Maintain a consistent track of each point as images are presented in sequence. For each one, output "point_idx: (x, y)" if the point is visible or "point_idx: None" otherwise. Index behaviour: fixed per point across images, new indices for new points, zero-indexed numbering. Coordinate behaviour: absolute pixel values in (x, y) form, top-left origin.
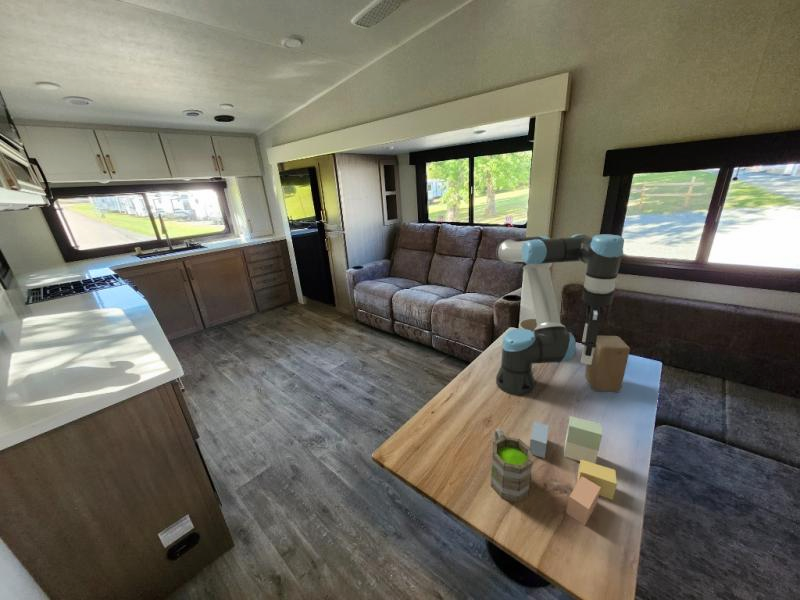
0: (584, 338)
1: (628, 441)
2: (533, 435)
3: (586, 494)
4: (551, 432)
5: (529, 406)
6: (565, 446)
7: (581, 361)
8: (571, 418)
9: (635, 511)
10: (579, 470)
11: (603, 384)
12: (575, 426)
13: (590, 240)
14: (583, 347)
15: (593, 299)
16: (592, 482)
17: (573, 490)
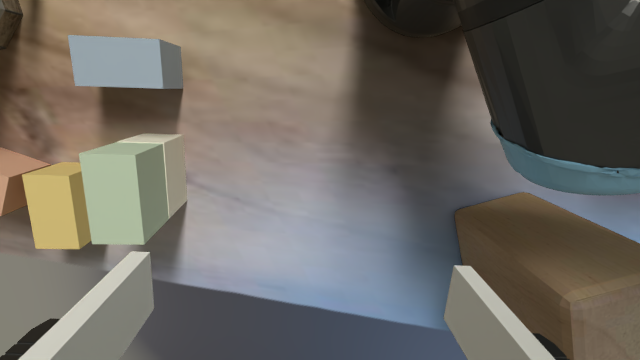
0: (464, 293)
1: (270, 271)
2: (89, 43)
3: None
4: (219, 100)
5: (311, 28)
6: (135, 137)
7: (125, 260)
8: (123, 159)
9: (68, 261)
10: (60, 170)
11: (467, 243)
12: (86, 171)
13: None
14: (50, 341)
15: None
16: (2, 199)
17: None
